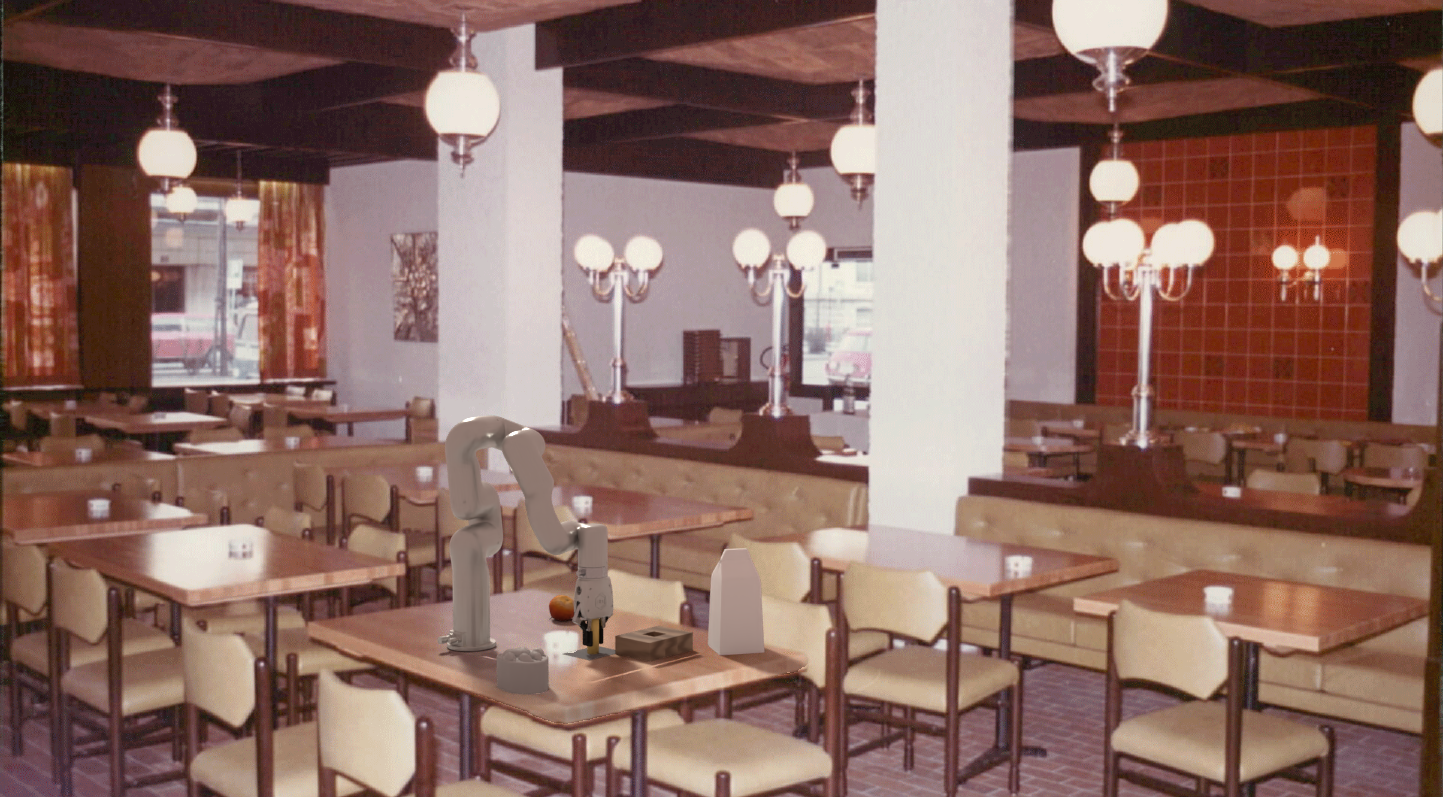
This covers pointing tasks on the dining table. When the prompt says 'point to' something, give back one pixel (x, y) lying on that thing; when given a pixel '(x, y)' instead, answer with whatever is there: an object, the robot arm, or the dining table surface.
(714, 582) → the milk
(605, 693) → the dining table surface
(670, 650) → the hole block
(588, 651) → the peg
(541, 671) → the lumpy-topped squat cylinder
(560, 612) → the fruit
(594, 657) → the mat
